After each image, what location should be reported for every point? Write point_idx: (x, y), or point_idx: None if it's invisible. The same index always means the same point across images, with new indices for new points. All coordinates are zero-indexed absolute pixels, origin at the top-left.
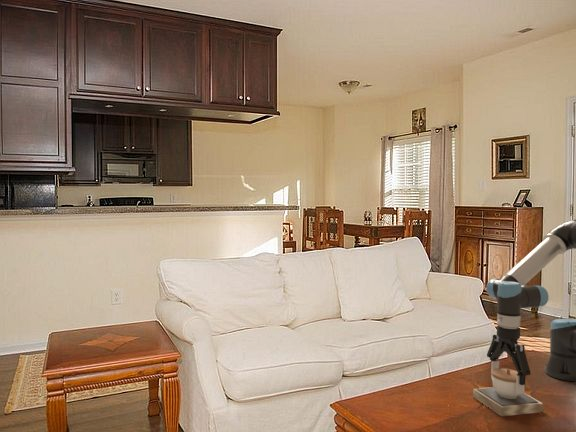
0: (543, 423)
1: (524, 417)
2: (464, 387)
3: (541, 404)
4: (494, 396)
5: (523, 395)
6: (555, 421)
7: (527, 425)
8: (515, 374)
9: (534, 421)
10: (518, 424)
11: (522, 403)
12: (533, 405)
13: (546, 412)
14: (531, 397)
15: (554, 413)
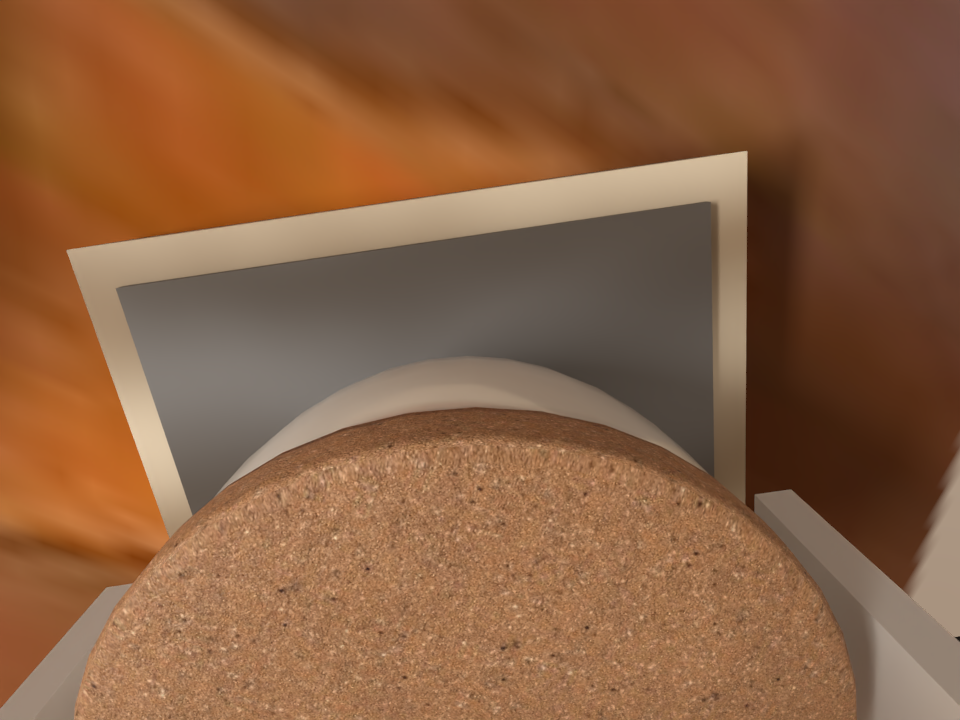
0: (925, 318)
1: (765, 429)
2: (21, 661)
3: (741, 173)
4: None
5: (485, 294)
6: (928, 155)
7: (910, 487)
8: (579, 698)
9: (863, 381)
10: (871, 549)
11: (712, 439)
12: (740, 301)
13: (710, 110)
14: (532, 194)
15: (755, 18)
